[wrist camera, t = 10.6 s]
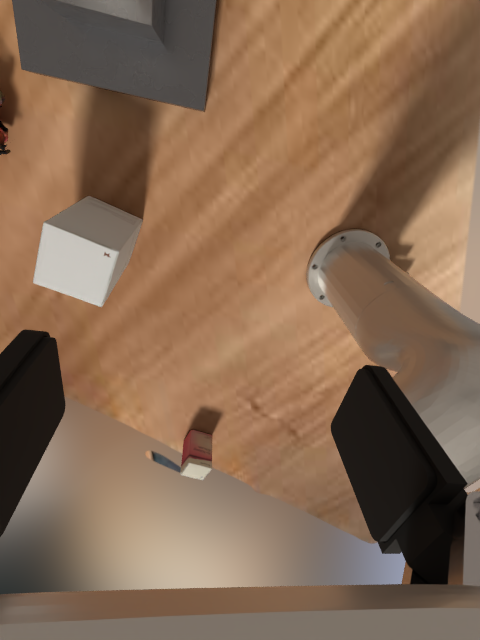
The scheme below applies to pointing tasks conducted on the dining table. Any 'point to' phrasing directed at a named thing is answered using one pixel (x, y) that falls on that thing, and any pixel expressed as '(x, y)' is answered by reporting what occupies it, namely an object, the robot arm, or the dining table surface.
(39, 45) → the stand
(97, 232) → the supplement box
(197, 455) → the small box
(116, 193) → the dining table surface
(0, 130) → the dragon fruit
